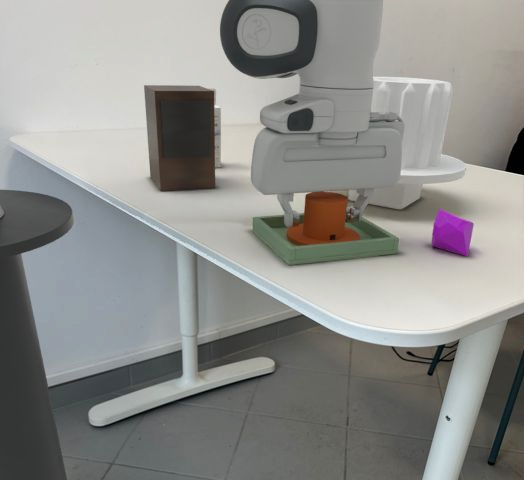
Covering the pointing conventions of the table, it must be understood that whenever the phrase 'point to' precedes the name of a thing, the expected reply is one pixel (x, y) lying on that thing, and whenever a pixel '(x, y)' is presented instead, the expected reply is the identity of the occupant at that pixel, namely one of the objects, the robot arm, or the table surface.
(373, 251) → the tray
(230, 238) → the table surface
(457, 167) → the flanged gear
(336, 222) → the hat
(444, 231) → the crystal
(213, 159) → the cabinet
